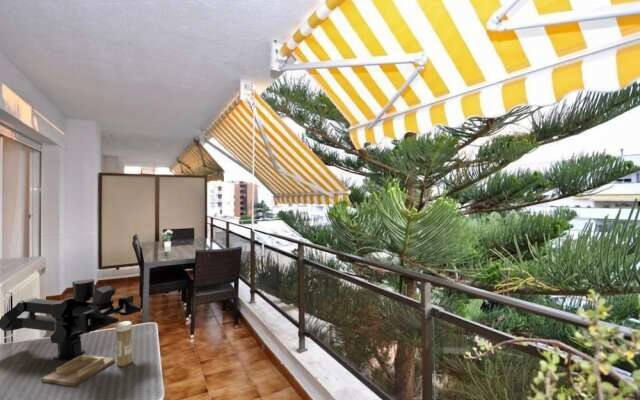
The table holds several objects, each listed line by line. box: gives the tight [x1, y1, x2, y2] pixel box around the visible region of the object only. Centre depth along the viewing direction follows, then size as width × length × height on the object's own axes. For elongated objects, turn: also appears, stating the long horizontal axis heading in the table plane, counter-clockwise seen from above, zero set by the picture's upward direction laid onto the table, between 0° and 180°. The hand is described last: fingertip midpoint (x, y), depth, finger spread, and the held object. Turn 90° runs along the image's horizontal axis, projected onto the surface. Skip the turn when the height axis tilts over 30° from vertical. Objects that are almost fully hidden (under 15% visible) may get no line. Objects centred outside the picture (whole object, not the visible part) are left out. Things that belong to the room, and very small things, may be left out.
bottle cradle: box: [41, 354, 115, 387], centre depth 100 cm, size 12×14×2 cm
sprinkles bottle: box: [115, 320, 133, 367], centre depth 104 cm, size 5×5×14 cm
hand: (129, 314), depth 103 cm, fingers open, 9 cm apart
